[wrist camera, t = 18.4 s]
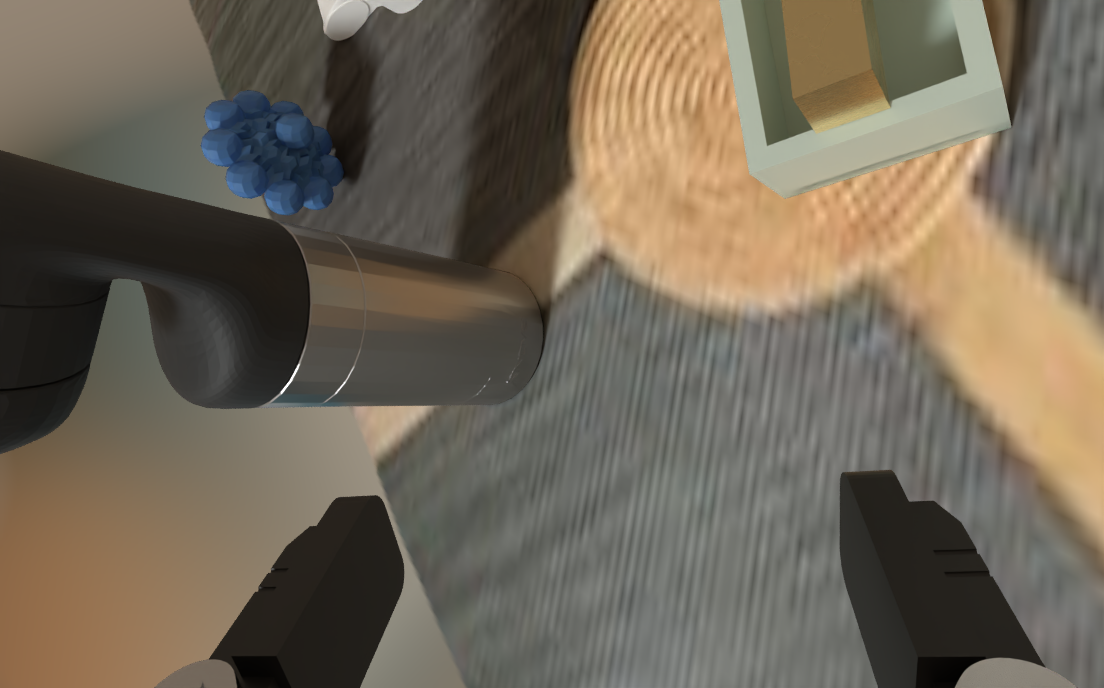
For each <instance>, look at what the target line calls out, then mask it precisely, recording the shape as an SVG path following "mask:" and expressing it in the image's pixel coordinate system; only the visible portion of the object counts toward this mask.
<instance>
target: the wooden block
mask: <svg viewBox="0 0 1104 688" xmlns="http://www.w3.org/2000/svg"><path fill="white" fill-rule="evenodd" d="M781 2H782V11H783V19H784V28H785V37H786V45H787V54H788V63H789V71H790V80H791V88H792V97H793V100H794V101H795V103H796V104H797V106H798V107H799V109H800V110H801V112H802V113H803V115H804V116H805V118H806V119H807V121H808V122H809V124H810V125H811V127H812V128H813V130H814V131H815V133H816V134H817V133H820V132H823V131H826V130H829V129H832V128H835V127H837V126H840V125H843V124H846V123H849V122H852V121H855V120H858V119H861V118H863V117H866V116H869V115H872V114H875V113H878V112H881V111H884V110H887V109H889V108H890V102H889V96H888V90H887V84H886V78H885V72H884V66H883V60H882V53H881V47H880V41H879V35H878V29H877V23H876V17H875V11H874V5H873V0H781Z"/></svg>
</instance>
